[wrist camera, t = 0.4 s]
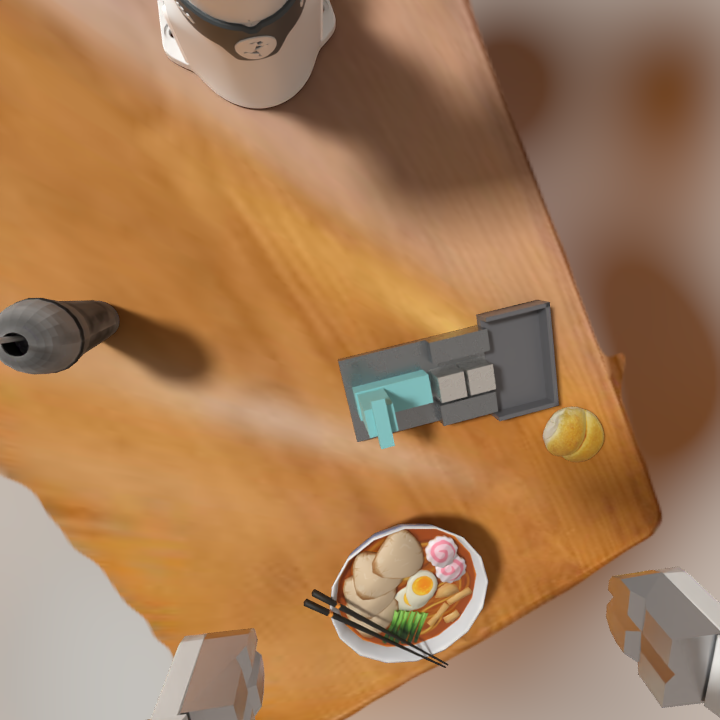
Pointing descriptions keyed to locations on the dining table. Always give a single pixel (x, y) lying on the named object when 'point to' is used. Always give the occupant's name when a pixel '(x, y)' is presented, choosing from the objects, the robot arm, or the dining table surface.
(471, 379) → the chip
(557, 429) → the bread roll
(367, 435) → the slot board
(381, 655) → the ramen bowl
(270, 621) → the dining table surface
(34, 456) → the dining table surface
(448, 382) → the beige cube
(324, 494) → the dining table surface
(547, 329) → the tray
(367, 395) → the rake tool
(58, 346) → the beverage cup
